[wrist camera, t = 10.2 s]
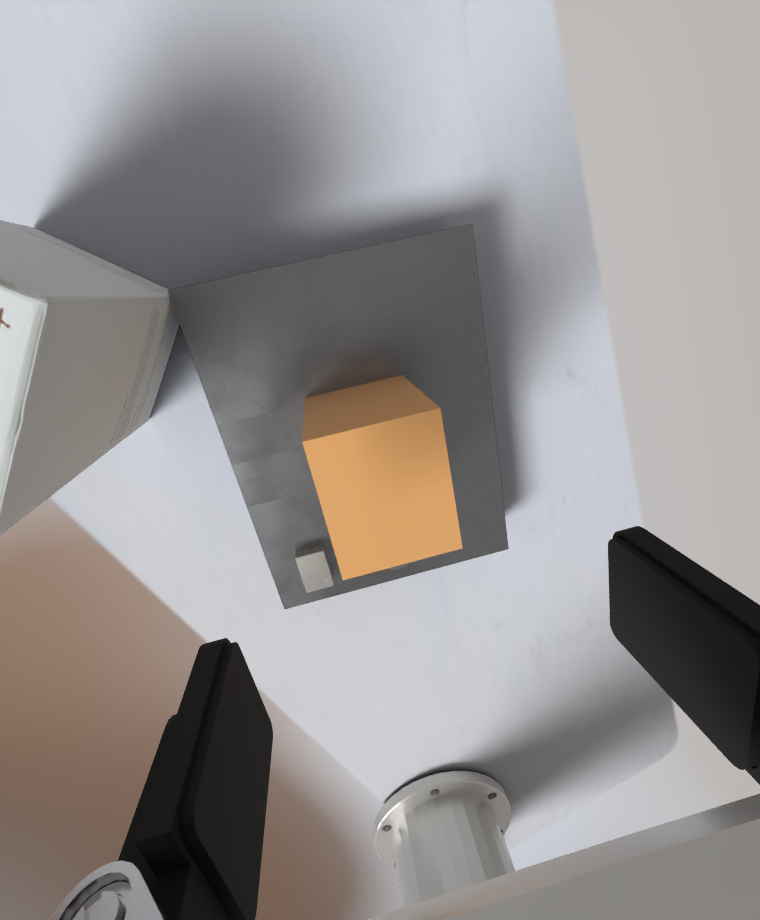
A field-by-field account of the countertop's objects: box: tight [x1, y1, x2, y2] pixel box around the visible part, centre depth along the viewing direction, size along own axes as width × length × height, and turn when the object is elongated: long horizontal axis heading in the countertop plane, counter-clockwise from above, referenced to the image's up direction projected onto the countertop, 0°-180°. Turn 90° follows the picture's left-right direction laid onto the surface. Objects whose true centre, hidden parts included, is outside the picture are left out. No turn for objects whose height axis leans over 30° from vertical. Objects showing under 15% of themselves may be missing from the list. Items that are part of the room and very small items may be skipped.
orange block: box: [302, 375, 463, 580], centre depth 21 cm, size 8×5×9 cm, turn 12°
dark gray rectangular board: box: [167, 224, 508, 609], centre depth 24 cm, size 18×14×4 cm
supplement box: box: [0, 220, 180, 534], centre depth 16 cm, size 7×7×13 cm
